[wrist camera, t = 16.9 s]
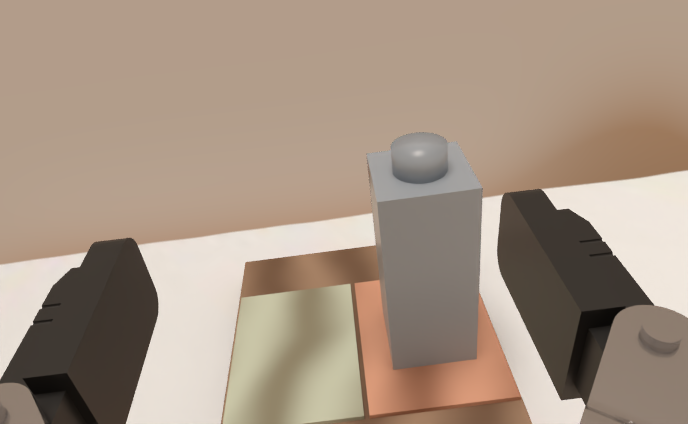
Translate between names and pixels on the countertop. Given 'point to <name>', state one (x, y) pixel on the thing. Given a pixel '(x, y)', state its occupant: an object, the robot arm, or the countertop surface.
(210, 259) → the countertop surface
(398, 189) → the slate brick
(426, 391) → the walnut board
